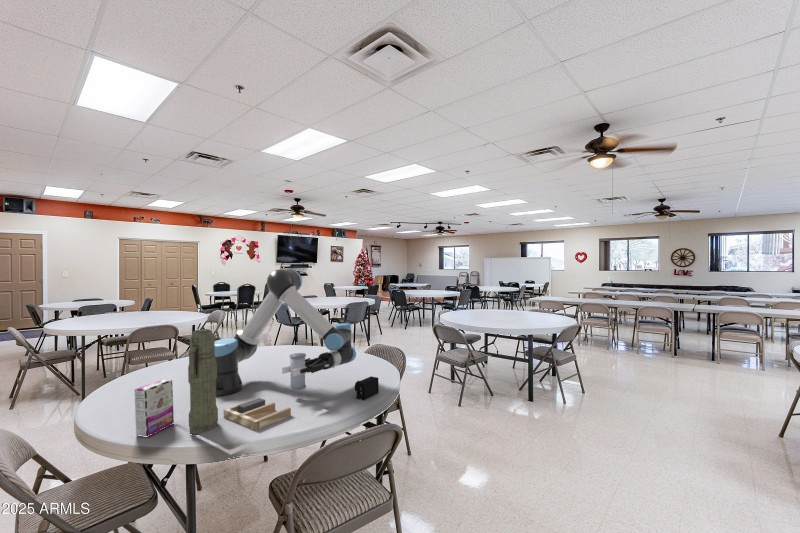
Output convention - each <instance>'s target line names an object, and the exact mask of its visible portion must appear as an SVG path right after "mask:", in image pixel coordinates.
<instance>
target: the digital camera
mask: <svg viewBox="0 0 800 533" xmlns="http://www.w3.org/2000/svg"><path fill="white" fill-rule="evenodd" d="M379 384H380V383H379V377H378V376H377V377H376V376H373V375H372V376H368V377H366V378H364V379H362V380H357V381H355V383H354V390H355V392H356V399H357V400H360V399H362V401H366V400H367V398H368V399H370V398H371V396H372V397H373V395H374V396H376V395H378V394H379V390H380V389H379ZM377 393H378V394H377ZM375 394H376V395H375ZM369 397H370V398H369ZM365 399H366V400H365Z"/></svg>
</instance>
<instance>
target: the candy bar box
mask: <svg viewBox="0 0 800 533" xmlns="http://www.w3.org/2000/svg"><path fill="white" fill-rule="evenodd" d="M134 406H135V415H134V416H135V431H136V432H135V435H142V436H148V435H150V434H153V433H155V432H157V431H159V430H160V429H162V428H164V427H166V426H168V425H170V424H172V423H175V422H174V420H175V419H174V392H173V379H164V378H163V379H160V380H157V381H154V382H151V383H148V384H146V385H143V386H140V387H138V388H136V389H134ZM172 425H173V424H172ZM170 426H171V425H170ZM159 432H160V431H159ZM157 433H158V432H157ZM155 434H156V433H155Z"/></svg>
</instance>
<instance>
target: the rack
mask: <svg viewBox="0 0 800 533" xmlns="http://www.w3.org/2000/svg"><path fill="white" fill-rule="evenodd" d="M257 398H258V397H256V398H253V399H251V400H248V401H245V402H242V403H239V404H236V405H234V406H233V405H232V406H230V407H227V408H224V409H223V418H225V419H226V420H229V421H231V422H234V423H236V424H239V425H241V426H244V427H246V428H248V429H251V430H253V431H259V430H260V429H263V428H265V427H267V426H270V425H272V424H275V423H277V422H280V421H281V420H284V419H287V418H290V417H291V416H292V409H291V407H285V408H283V409H280V410H278V411H277V410H276V402H273V401H272V402H270V403H267V404H265V405H264V406H261V407H259V408H256V409H253V410H250V411H248V412H245V413H242V414H241V413H238V405H240V404H243V403H246V402H249V401H252V400H254V399H257Z"/></svg>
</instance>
